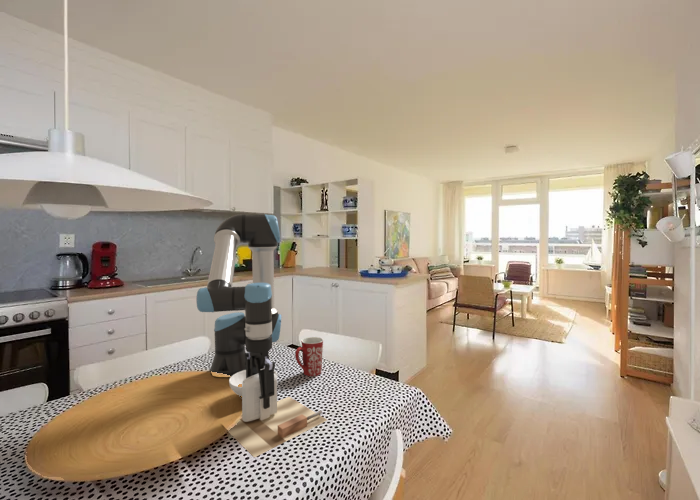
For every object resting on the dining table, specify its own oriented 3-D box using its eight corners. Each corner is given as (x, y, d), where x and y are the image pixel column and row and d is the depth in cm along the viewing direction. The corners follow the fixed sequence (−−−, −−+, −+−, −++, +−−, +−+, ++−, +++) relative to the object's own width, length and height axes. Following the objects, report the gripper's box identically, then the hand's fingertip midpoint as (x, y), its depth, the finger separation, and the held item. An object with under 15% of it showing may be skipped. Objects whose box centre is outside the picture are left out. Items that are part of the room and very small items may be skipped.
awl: (282, 438, 85) (282, 429, 85) (277, 434, 87) (277, 425, 87) (323, 417, 95) (323, 409, 95) (318, 414, 96) (318, 406, 96)
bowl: (284, 400, 108) (283, 380, 108) (234, 414, 100) (234, 391, 100) (269, 383, 122) (269, 364, 122) (225, 393, 114) (224, 373, 113)
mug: (314, 366, 137) (314, 335, 137) (328, 372, 131) (327, 339, 130) (289, 375, 129) (289, 341, 128) (302, 382, 122) (302, 347, 122)
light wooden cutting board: (220, 429, 92) (220, 424, 92) (289, 401, 108) (289, 396, 108) (254, 463, 78) (254, 457, 77) (327, 425, 93) (327, 420, 93)
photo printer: (274, 407, 100) (273, 367, 99) (279, 413, 96) (278, 372, 96) (240, 417, 94) (239, 375, 94) (244, 424, 90) (243, 381, 90)
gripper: (233, 332, 98) (234, 408, 99) (262, 346, 85) (264, 432, 86) (255, 327, 103) (256, 399, 104) (286, 339, 91) (288, 421, 91)
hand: (260, 414), depth 95 cm, fingers closed on photo printer, 5 cm apart
